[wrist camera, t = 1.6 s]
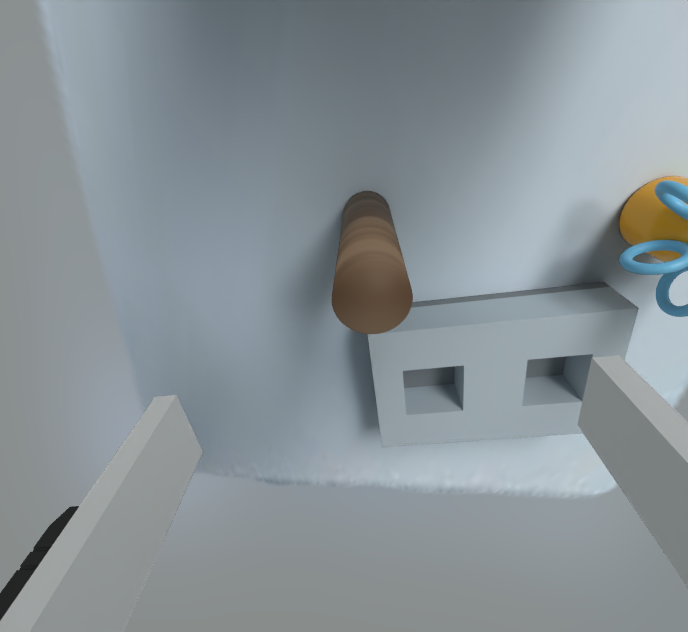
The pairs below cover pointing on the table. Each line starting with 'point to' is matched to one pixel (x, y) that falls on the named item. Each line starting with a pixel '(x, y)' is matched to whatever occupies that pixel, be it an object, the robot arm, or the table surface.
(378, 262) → the pin
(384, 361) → the hole block
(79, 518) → the robot arm
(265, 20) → the table surface
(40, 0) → the table surface
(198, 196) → the table surface
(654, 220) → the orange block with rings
